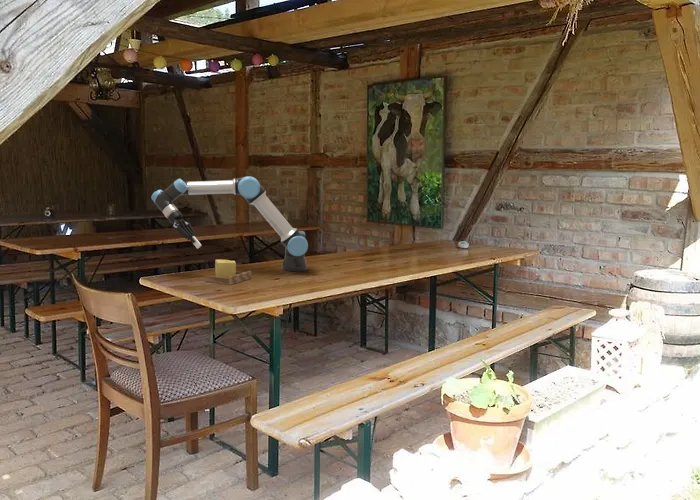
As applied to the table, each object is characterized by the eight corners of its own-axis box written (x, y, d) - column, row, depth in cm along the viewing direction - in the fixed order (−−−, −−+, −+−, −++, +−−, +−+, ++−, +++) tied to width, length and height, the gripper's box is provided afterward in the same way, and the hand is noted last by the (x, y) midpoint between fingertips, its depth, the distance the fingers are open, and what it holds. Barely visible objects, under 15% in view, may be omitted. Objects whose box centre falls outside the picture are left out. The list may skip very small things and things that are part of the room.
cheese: (234, 277, 333) (234, 259, 332) (236, 280, 323) (236, 262, 322) (214, 277, 330) (214, 259, 329) (216, 281, 320) (216, 262, 319)
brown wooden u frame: (226, 275, 336) (226, 268, 336) (251, 278, 331) (251, 271, 330) (205, 281, 317) (205, 274, 317) (231, 284, 312) (231, 277, 311)
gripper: (176, 218, 339) (202, 249, 335) (161, 219, 327) (188, 252, 323) (184, 209, 336) (210, 240, 333) (169, 210, 324) (196, 243, 321)
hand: (199, 246), depth 328 cm, fingers closed
